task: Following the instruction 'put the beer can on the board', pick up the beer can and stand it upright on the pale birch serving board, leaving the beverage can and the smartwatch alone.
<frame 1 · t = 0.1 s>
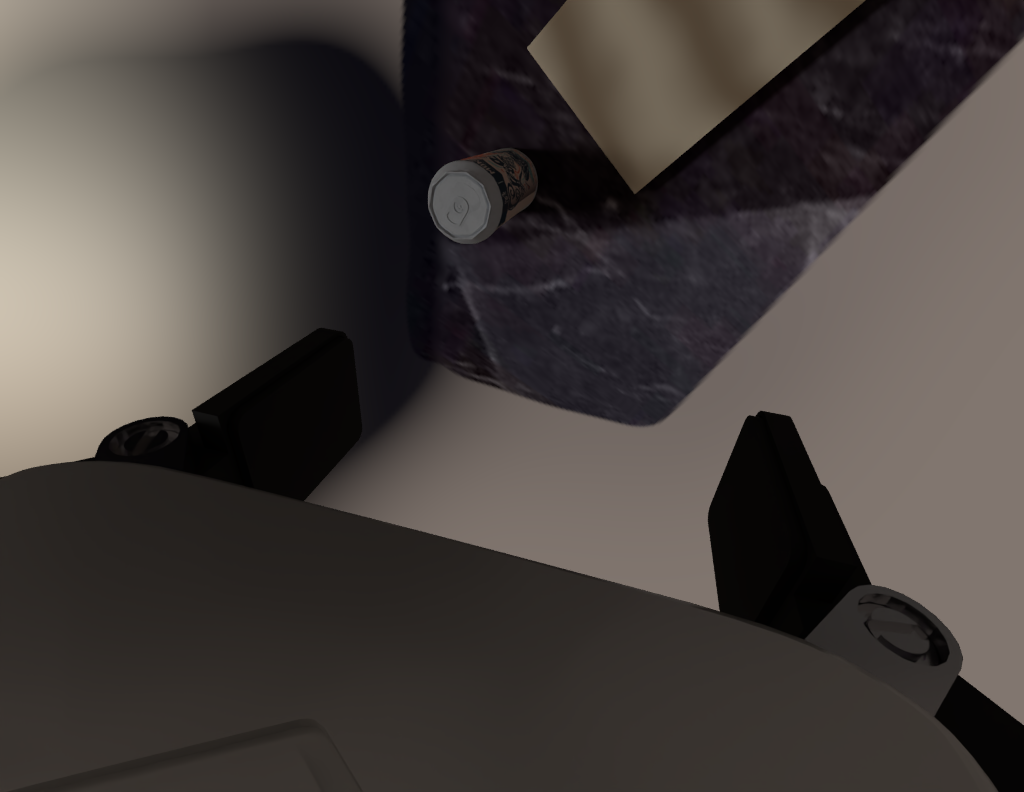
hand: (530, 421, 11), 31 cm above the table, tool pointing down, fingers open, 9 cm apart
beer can: (510, 180, 38), on the table
birch board: (697, 13, 30), on the table
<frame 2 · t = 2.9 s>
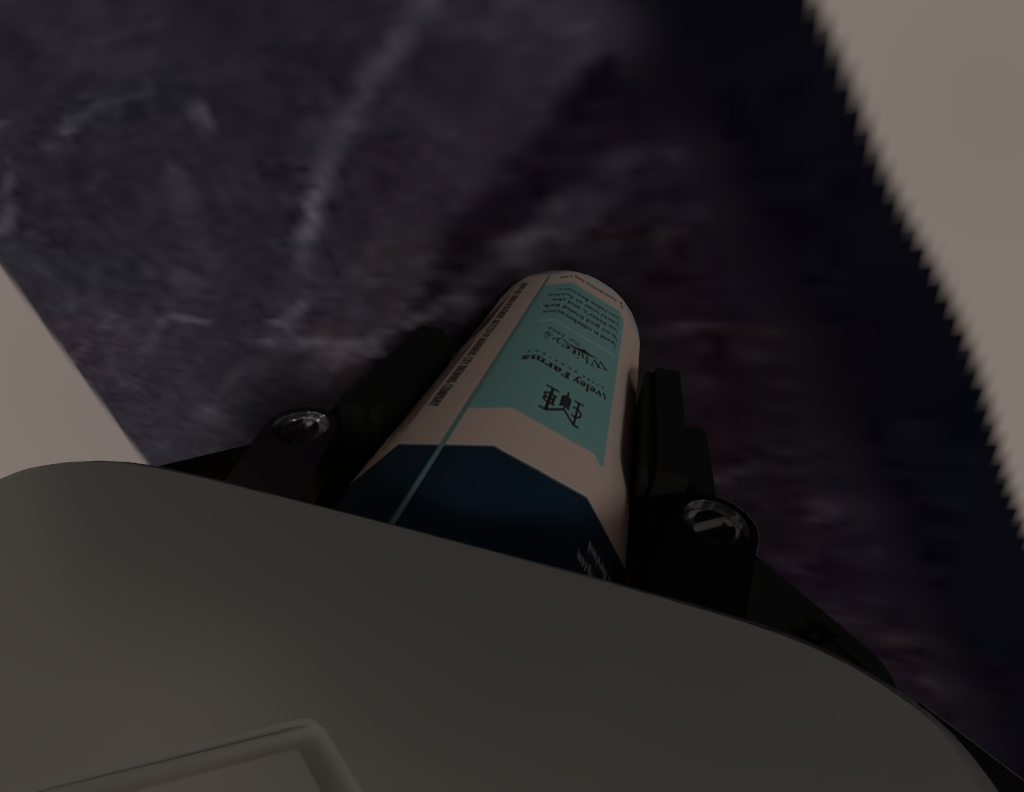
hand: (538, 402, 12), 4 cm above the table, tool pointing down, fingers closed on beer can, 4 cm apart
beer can: (564, 336, 16), on the table, touching gripper
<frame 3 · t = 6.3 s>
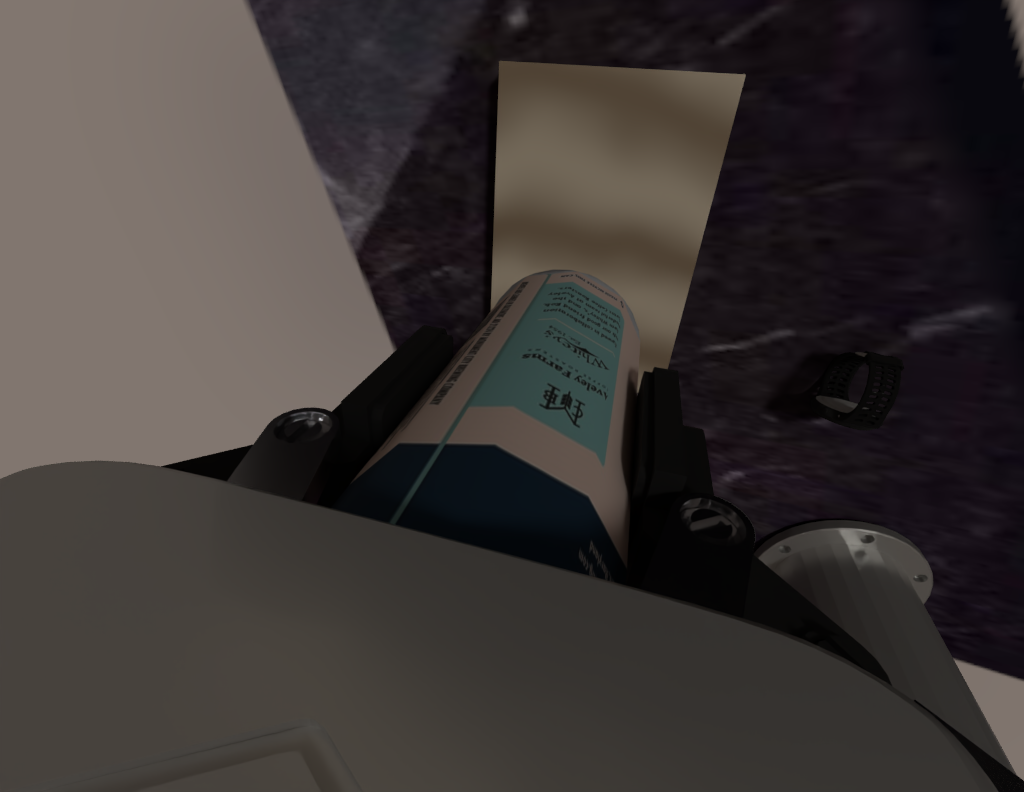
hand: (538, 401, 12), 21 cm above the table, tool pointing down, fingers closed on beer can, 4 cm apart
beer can: (564, 335, 16), point 17 cm above the table, touching gripper
smartwatch: (845, 368, 30), on the table
birch board: (593, 243, 30), on the table
when the fingers open (7 cm above the table, at t = 9.5 s): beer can drops 1 cm, resting on birch board.
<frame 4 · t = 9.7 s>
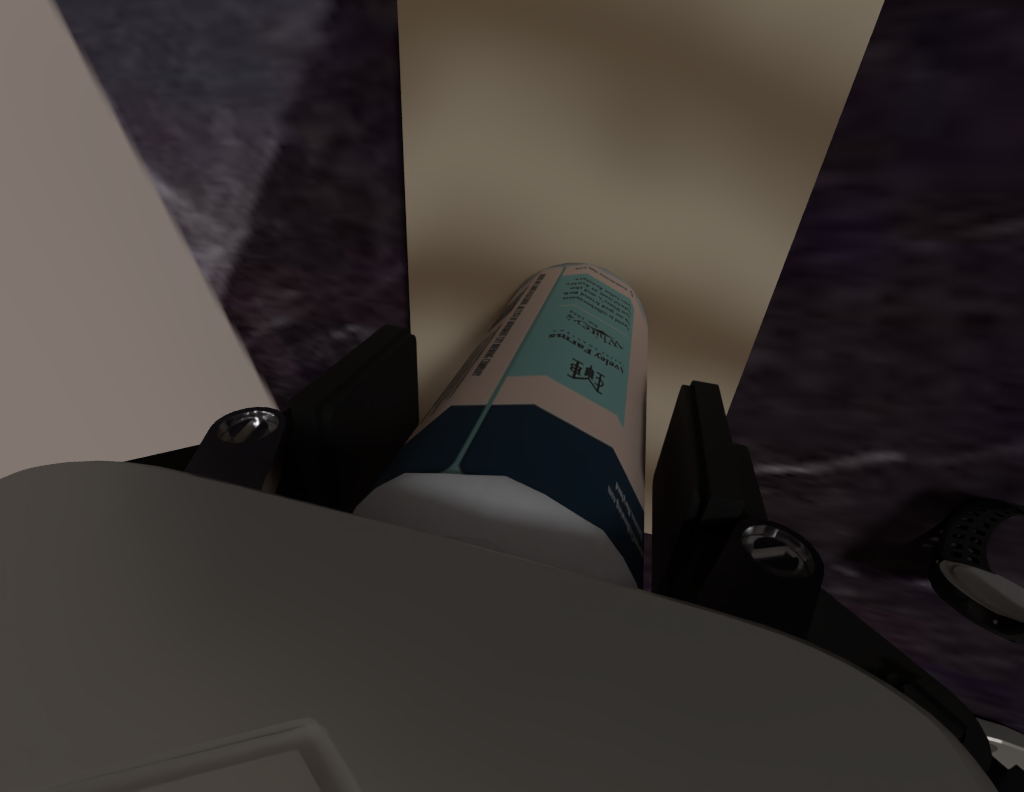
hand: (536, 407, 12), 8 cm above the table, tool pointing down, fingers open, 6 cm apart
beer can: (577, 324, 17), point 2 cm above the table, touching birch board
smartwatch: (982, 514, 19), on the table
birch board: (576, 302, 18), on the table
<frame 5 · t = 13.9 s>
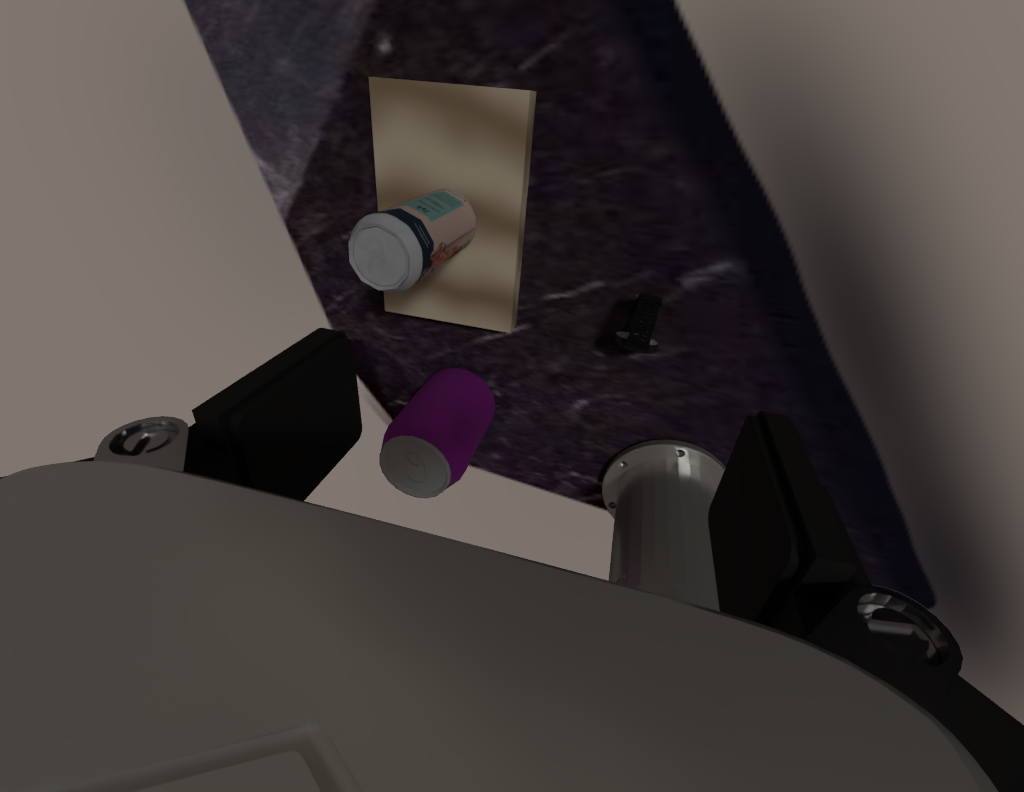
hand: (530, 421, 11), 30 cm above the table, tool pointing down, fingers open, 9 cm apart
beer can: (450, 219, 38), point 2 cm above the table, touching birch board
smartwatch: (645, 312, 40), on the table
birch board: (455, 213, 40), on the table
beverage can: (462, 395, 49), on the table
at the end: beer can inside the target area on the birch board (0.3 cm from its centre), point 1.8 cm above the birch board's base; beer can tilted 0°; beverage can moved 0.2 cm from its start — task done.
